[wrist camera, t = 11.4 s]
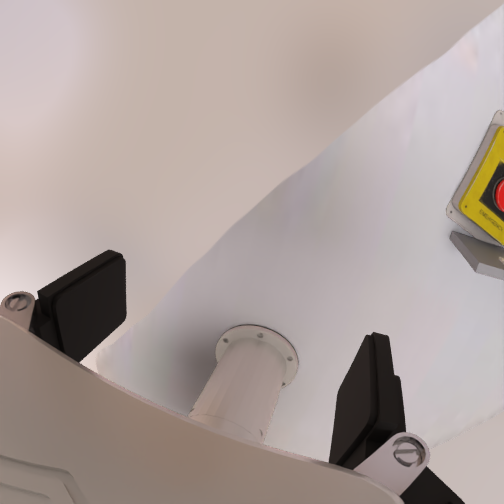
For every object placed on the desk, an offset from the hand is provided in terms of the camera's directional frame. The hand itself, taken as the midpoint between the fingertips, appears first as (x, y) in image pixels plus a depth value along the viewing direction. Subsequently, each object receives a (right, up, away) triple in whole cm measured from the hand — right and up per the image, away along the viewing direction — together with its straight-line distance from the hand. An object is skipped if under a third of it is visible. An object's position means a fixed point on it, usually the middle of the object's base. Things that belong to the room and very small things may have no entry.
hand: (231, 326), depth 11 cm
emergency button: (+29, +11, +17) cm, 36 cm away
